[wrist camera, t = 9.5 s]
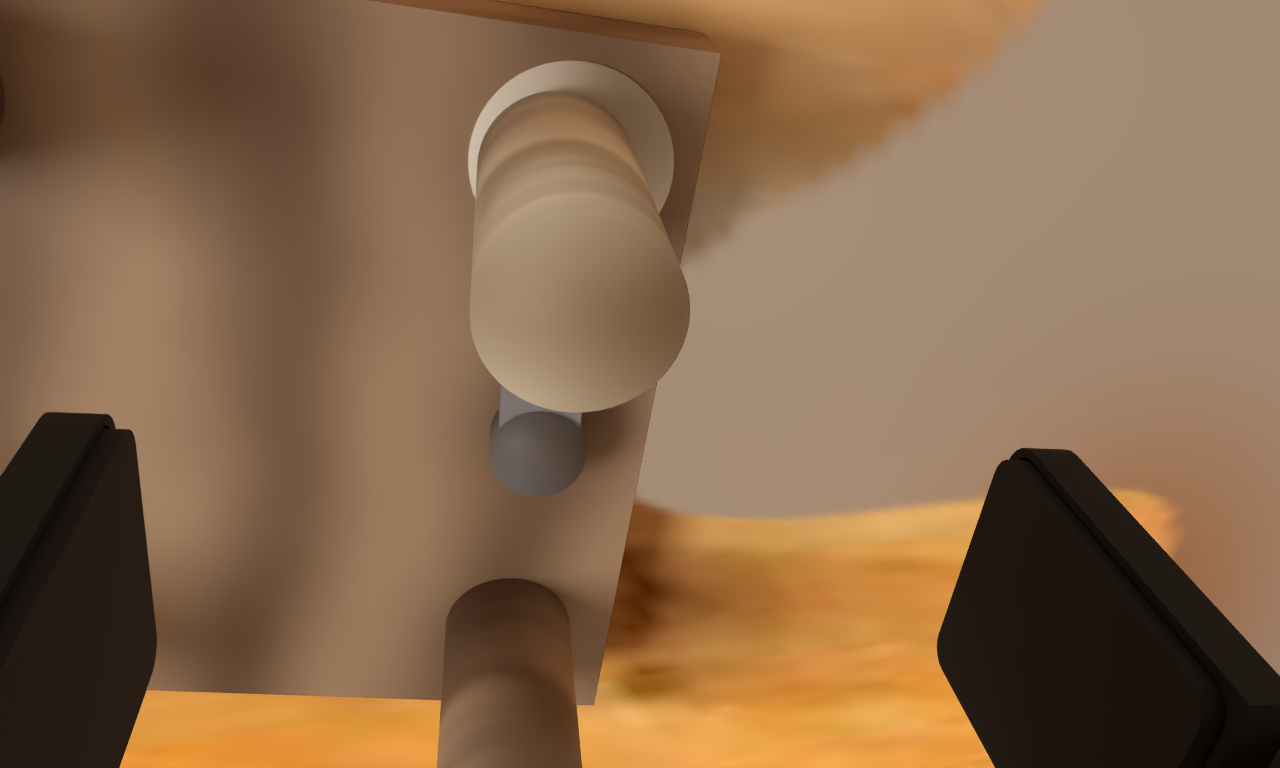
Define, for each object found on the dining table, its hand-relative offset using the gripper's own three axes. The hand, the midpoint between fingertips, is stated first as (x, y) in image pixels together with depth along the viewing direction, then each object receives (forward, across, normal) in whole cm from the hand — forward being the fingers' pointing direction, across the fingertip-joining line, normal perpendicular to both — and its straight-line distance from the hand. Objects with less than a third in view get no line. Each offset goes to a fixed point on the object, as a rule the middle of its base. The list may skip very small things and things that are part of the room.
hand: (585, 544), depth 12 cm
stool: (+18, +6, +7) cm, 20 cm away
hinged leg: (+14, -1, +4) cm, 15 cm away
